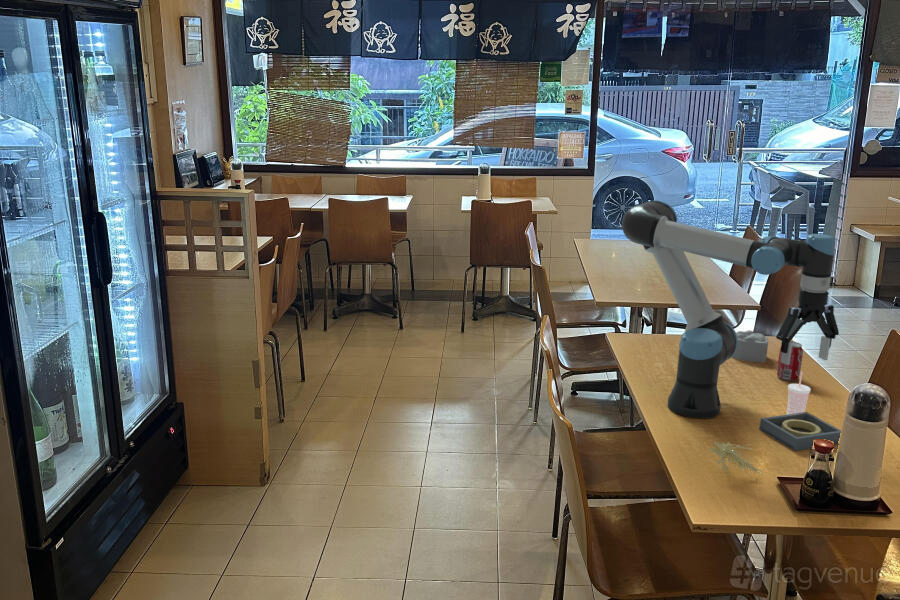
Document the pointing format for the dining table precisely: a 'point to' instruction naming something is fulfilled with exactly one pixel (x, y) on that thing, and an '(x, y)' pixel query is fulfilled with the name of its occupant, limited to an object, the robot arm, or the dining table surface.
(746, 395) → the dining table surface
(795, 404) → the beverage cup
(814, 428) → the walled box
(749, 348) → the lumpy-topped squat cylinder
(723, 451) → the plant sprig
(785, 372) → the soda can
